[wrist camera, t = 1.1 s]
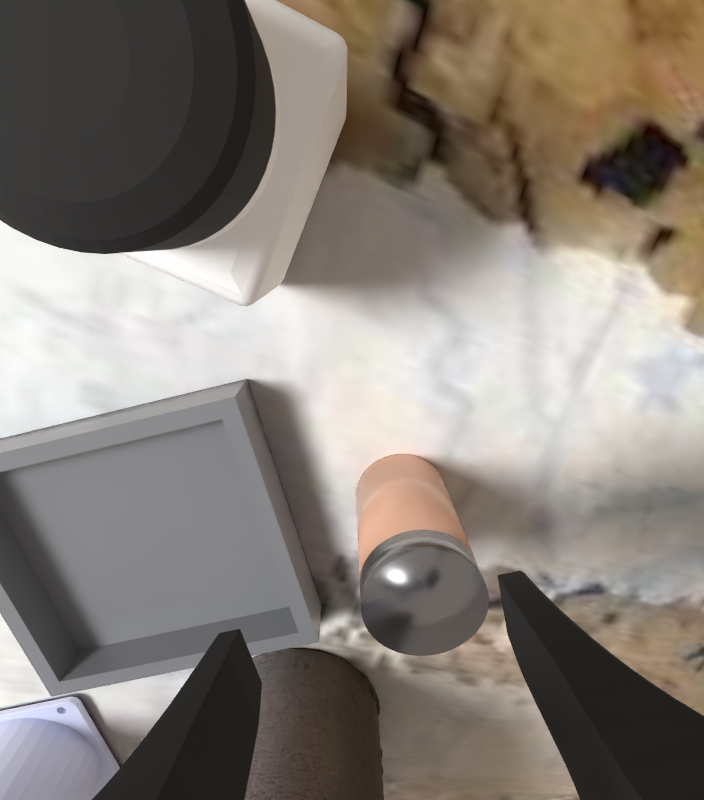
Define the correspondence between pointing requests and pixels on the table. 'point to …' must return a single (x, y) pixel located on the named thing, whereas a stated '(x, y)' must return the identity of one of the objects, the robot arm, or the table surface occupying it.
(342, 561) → the table surface
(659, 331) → the table surface
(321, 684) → the pillar candle
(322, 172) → the medicine bottle
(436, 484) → the salt shaker
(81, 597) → the tray
